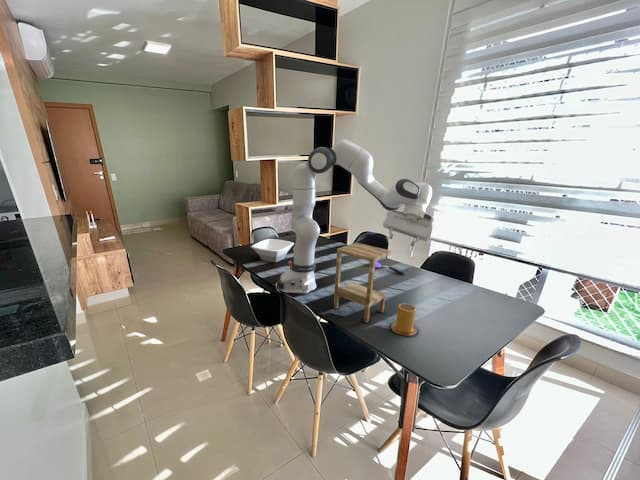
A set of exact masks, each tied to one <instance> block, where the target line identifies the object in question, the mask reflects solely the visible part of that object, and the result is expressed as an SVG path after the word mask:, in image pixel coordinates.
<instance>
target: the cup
mask: <svg viewBox="0 0 640 480" xmlns="http://www.w3.org/2000/svg"><path fill="white" fill-rule="evenodd" d="M416 314H417V306H415V305H413V304H411V303H405V302H404V303H403V302H402V303H399V304H398V307H397V314H396V321H395V322H396V326H395V327H396V329H397V330H398V331H400V332H404V333H410V332H412V330H413V326H415V325H414V324H415V320H416Z"/></svg>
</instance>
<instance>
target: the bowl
mask: <svg viewBox="0 0 640 480" xmlns="http://www.w3.org/2000/svg"><path fill="white" fill-rule="evenodd" d="M294 245H295V243H294V242H292V241H288V240H284V239H278V238H277V239H276V238H266V239H263V240H261V241H258V242H255V243H254V244H252V245H251V246H250V248H251V249H252V250H253V251H255V253H256V254H258V256H259V258H260V260H262V261H265V262H270V263H279V262H280V261H282V260H284V259H285V258H286V256H287V254H288V252H289V251H290V250H291V248H292V247H293V246H294Z"/></svg>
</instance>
